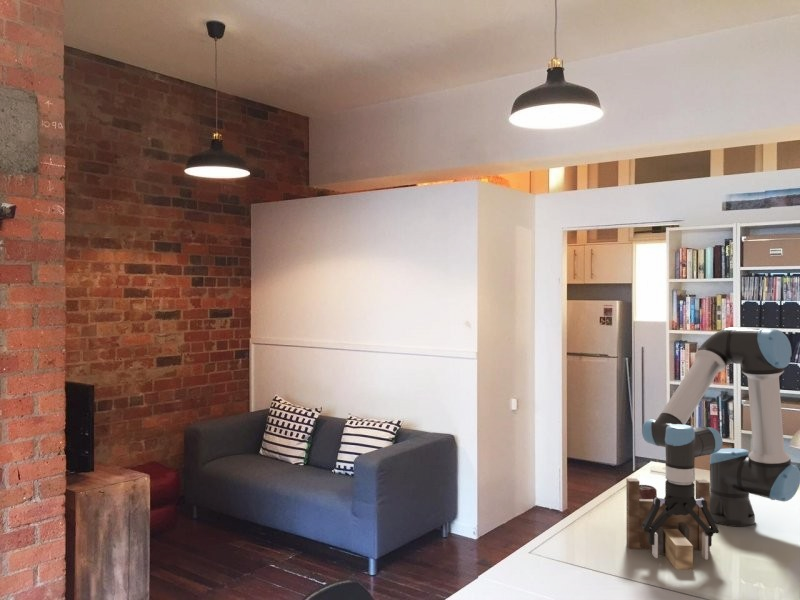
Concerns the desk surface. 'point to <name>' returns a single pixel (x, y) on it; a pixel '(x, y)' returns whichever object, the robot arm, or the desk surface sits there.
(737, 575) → the desk surface
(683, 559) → the tan rectangular block
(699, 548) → the wooden u-shaped stand
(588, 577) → the desk surface
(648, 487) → the can
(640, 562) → the desk surface
